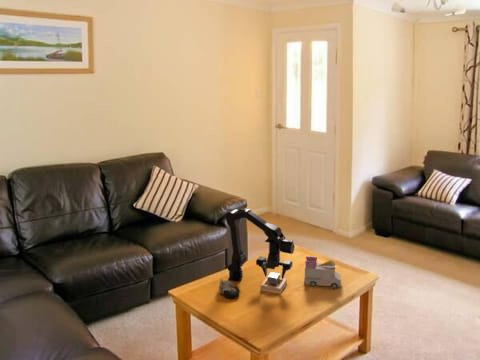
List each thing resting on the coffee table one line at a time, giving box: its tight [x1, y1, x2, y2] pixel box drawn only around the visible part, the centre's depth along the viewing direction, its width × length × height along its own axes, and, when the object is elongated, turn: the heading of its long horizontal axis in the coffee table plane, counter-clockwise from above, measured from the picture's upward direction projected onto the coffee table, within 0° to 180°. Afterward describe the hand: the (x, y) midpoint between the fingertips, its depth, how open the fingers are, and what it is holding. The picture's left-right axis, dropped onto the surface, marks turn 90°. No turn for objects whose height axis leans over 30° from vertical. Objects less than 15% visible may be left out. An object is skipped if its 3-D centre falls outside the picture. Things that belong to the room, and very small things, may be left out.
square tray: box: [259, 275, 288, 294], centre depth 251 cm, size 11×12×3 cm
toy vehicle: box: [303, 256, 342, 290], centre depth 251 cm, size 9×20×15 cm, turn 78°
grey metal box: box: [267, 271, 281, 287], centre depth 250 cm, size 5×6×6 cm
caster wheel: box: [218, 279, 241, 300], centre depth 243 cm, size 7×11×10 cm
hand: (274, 277), depth 250 cm, fingers open, 9 cm apart
